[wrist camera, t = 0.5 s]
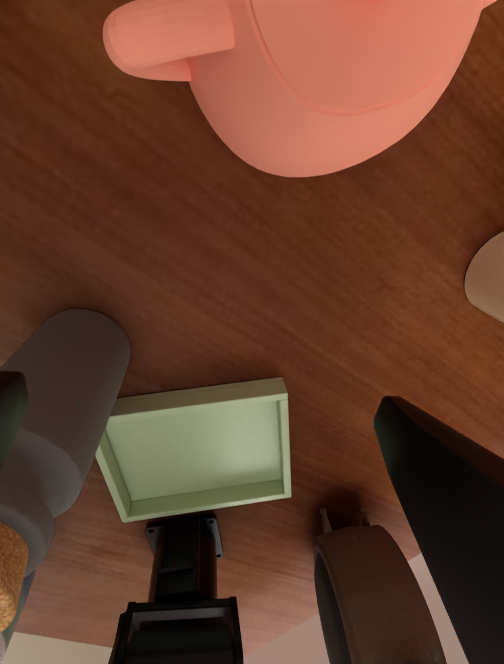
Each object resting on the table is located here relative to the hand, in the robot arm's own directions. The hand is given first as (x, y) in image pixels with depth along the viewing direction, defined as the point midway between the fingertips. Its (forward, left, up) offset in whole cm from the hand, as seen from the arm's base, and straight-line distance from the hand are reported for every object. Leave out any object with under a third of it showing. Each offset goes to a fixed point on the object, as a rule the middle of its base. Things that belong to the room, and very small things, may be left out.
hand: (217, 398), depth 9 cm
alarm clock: (-30, -9, -14) cm, 35 cm away
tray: (-15, +3, -14) cm, 21 cm away
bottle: (-5, +9, -14) cm, 18 cm away
